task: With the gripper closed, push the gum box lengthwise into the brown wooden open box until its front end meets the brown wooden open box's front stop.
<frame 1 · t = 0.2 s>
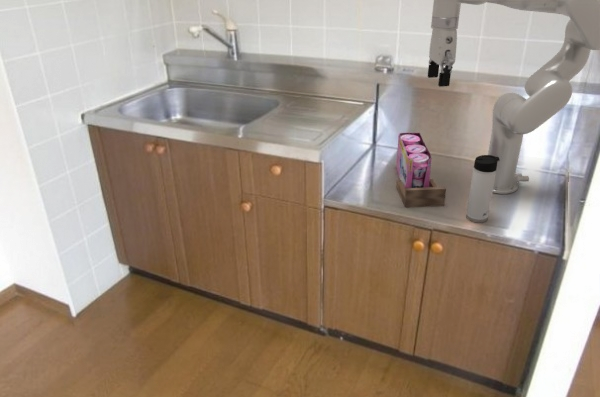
hand: (438, 81, 151), 36 cm above the countertop, tool pointing down, fingers open, 9 cm apart
travel mug: (477, 218, 150), on the countertop
brown wooden open box: (415, 188, 167), on the countertop
gum box: (411, 181, 173), on the countertop
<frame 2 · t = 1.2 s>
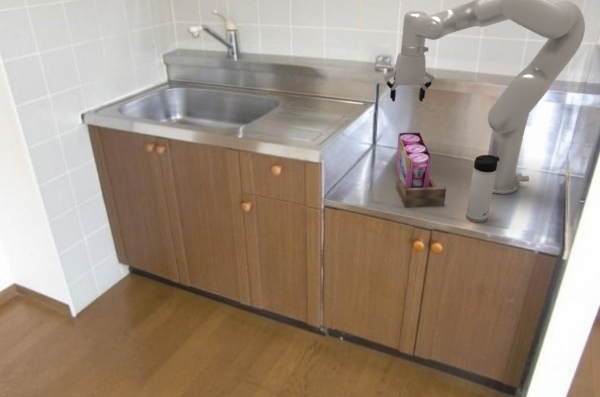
hand: (406, 100, 174), 24 cm above the countertop, tool pointing down, fingers open, 9 cm apart
nothing on the countertop moved.
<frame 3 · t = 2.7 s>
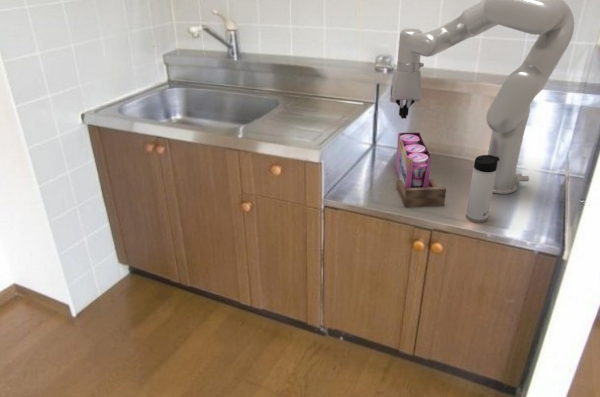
hand: (403, 117, 180), 17 cm above the countertop, tool pointing down, fingers closed
nothing on the countertop moved.
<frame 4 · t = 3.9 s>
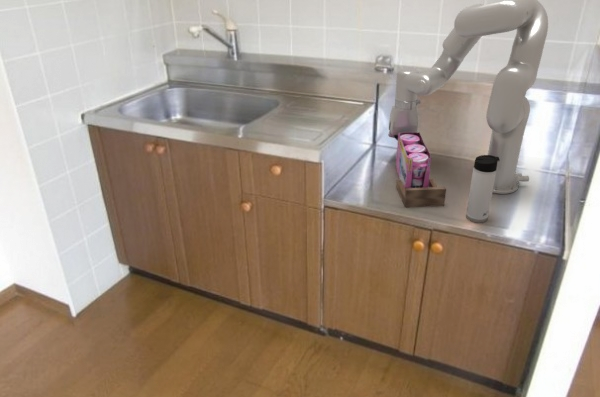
hand: (401, 150, 186), 4 cm above the countertop, tool pointing down, fingers closed
nothing on the countertop moved.
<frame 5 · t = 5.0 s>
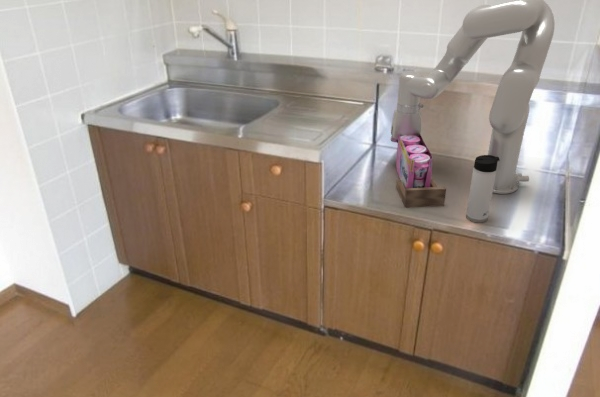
hand: (403, 155, 182), 4 cm above the countertop, tool pointing down, fingers closed
gum box: (411, 181, 173), on the countertop, touching gripper
everything else where it was.
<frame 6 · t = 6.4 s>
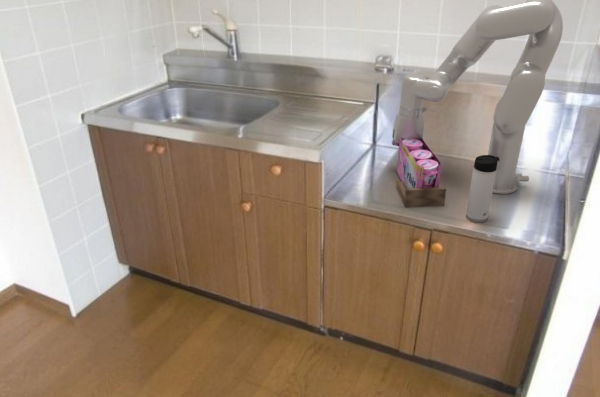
hand: (405, 159, 177), 5 cm above the countertop, tool pointing down, fingers closed
gum box: (415, 186, 168), on the countertop, touching brown wooden open box, gripper
everything else where it was.
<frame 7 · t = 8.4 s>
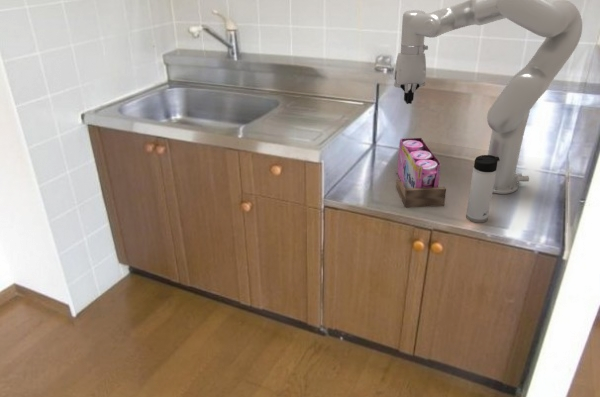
hand: (408, 102, 175), 23 cm above the countertop, tool pointing down, fingers closed
gum box: (415, 187, 169), on the countertop
everything else where it was.
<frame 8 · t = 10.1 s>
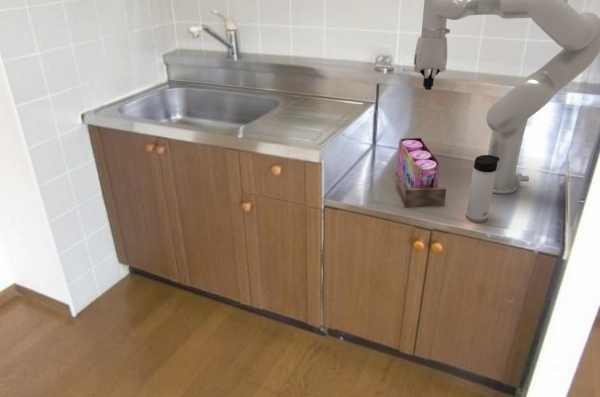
hand: (427, 88, 169), 29 cm above the countertop, tool pointing down, fingers closed
nothing on the countertop moved.
at the end: gum box 0.7 cm from the target spot, on the countertop; gum box tilted 0° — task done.
